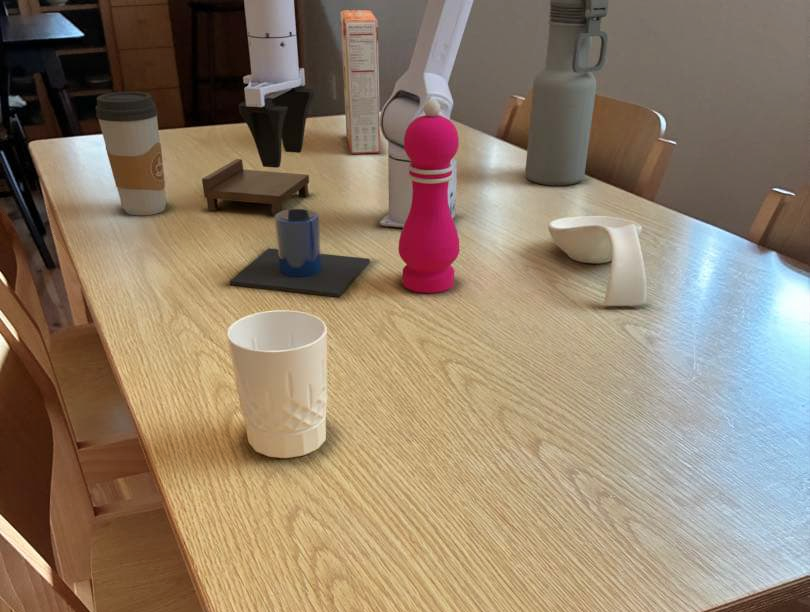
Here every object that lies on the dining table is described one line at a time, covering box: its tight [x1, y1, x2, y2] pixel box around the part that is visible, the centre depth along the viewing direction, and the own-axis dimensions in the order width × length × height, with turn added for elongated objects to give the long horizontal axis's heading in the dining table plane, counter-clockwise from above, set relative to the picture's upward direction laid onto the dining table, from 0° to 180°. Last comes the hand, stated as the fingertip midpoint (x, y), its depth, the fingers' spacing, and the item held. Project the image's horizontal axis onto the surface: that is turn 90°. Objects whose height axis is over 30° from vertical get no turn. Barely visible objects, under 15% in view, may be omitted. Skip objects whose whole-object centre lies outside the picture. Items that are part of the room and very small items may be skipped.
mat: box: [229, 248, 371, 298], centre depth 100 cm, size 14×12×1 cm
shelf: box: [201, 158, 310, 217], centre depth 122 cm, size 12×12×4 cm
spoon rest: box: [547, 215, 647, 307], centre depth 99 cm, size 24×12×7 cm, turn 3°
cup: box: [274, 208, 322, 277], centre depth 98 cm, size 5×5×7 cm
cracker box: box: [339, 9, 382, 155], centre depth 146 cm, size 14×6×21 cm, turn 6°
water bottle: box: [524, 0, 609, 187], centre depth 126 cm, size 10×10×28 cm
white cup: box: [226, 309, 329, 459], centre depth 67 cm, size 8×8×10 cm
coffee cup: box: [95, 91, 167, 216], centre depth 116 cm, size 8×8×15 cm
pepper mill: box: [398, 99, 460, 294], centre depth 92 cm, size 7×7×20 cm
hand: (282, 159), depth 103 cm, fingers open, 7 cm apart
